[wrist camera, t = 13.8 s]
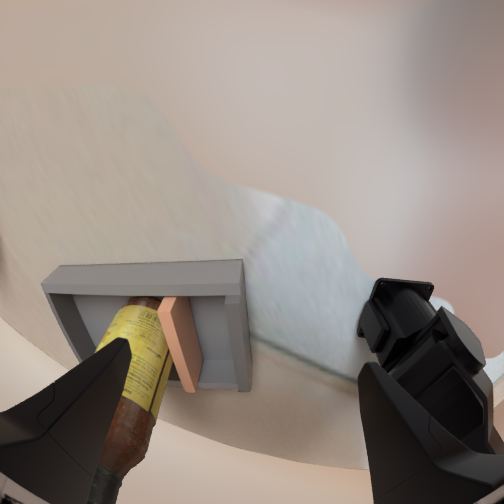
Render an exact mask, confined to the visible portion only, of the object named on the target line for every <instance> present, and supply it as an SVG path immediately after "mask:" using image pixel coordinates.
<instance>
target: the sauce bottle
mask: <svg viewBox="0 0 504 504" xmlns="http://www.w3.org/2000/svg"><path fill="white" fill-rule="evenodd" d="M161 302H162V301H160V300H158V299H156V298H153V297H151V296H136V297H133V298H131V299H129V300H128V301H127V302H126V303H125V304H124V305H123V306H122V308H121V309H120V310H119V311H118V312H117V313H116V315H115V317H114V318H113V320H112V322H111V324H110V326H109V327H108V329H107V331H106V332H105V334H104V336H103V338H102V340H101V342H100V343H99V345H98V347H97V348H96V350H95V352H97V351H98V350H100V349H101V348H103V347H104V346H105V345H107V344H108V343H110V342H111V341H113V340H114V339H115V338H117V337H122V338H126V339H128V340H129V344H130V348H131V352H132V359H131V363H130V367H129V371H128V374H127V378H126V382H125V386H124V390H123V393H122V396H121V399H120V401H119V404H118V407H117V409H116V412H115V415H114V418H113V420H112V423H111V426H110V429H109V432H108V435H107V437H106V440H105V443H104V446H103V449H102V452H101V455H100V459H99V462H98V465H97V468H96V471H95V475H94V477H93V482H92V485H91V488H90V492H89V496H88V499H87V503H86V504H116V500H117V495H118V492H119V488H120V487H121V486H122V479H123V478H124V476H125V475H126V474H127V473H128V472H129V470H130V469H131V468H133V467H135V466H136V465H137V464H138V463H140V462H141V461H142V460H143V459H144V458H145V454H146V452H147V450H148V446H149V441H150V437H151V434H152V429H153V427H154V426H155V424H156V420H157V416H158V413H159V409H160V405H161V401H162V398H163V394H164V390H165V387H166V383H167V380H168V376H169V373H170V369H171V366H172V362H173V359H172V356H171V353H170V350H169V347H168V344H167V341H166V338H165V335H164V332H163V329H162V326H161V323H160V319H159V316H158V313H157V310H158V308H159V306H160V304H161ZM95 352H94V353H95Z"/></svg>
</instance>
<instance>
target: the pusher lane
mask: <svg viewBox="0 0 504 504" xmlns="http://www.w3.org/2000/svg"><path fill="white" fill-rule="evenodd" d="M41 285H42V288H43V290H44V293H45V295H46V297H47V300H48V302H49V304H50V307H51V309H52V311H53V313H54V315H55V317H56V319H57V321H58V324H59V326H60V328H61V330H62V332H63V334H64V335H65V337H66V339H67V341H68V343H69V345H70V347H71V349H72V350H73V352H74V354H75V356H76V357H77V359H78V361H79V363H81V362H83V361H84V360H85V359H87V358H88V357H90V356H91V355H93V354H94V352H95V350H96V348H97V347H98V345H99V343H100V342H101V340H102V338H103V336H104V334H105V332H106V331H107V329H108V327H109V326H110V324H111V322H112V320H113V318H114V317H115V315H116V313H117V312H118V311H119V310H120V309H121V308H122V306H123V305H124V304H125V303H126V302H127V301H128V300H129V299H131V298H133V297H136V296H151V297H153V298H156V299H158V300H160V301H162V300H163V298H164V296H188V299H189V304H190V308H191V313H192V317H193V321H194V325H195V330H196V334H197V338H198V342H199V346H200V350H201V354H202V358H203V362H202V366H201V371H200V375H199V380H198V384H197V388H199V389H224V390H238V392H250V390H251V377H252V356H251V346H250V336H249V325H248V315H247V304H246V293H245V283H244V271H243V260H242V259H237V260H212V261H186V262H158V263H129V264H98V265H64V266H59V267H58V268H57V269H56V270H55V271H53V272H52V273H51V274H50V275H49V276H48V277H47V278H46V279H45V280H44V281H43V282H42V283H41ZM166 386H171V387H183V386H182V383H181V380H180V378H179V375H178V372H177V370H176V367H175V364H174V361H173V362H172V366H171V369H170V373H169V376H168V380H167V383H166Z"/></svg>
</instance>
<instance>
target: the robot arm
mask: <svg viewBox="0 0 504 504" xmlns="http://www.w3.org/2000/svg"><path fill="white" fill-rule="evenodd" d="M381 283H383V284H382V285H380V284H381ZM429 287H430V288H429ZM428 288H429V289H428ZM433 289H434V286H433V285H432V283H430V282H421V281H410V280H400V279H389V278H379V279H378V280H377V281H376V283H375V286H374V289H373V291H372V294H371V297H370V299H369V300H368V301H367V304H366V306H365V309H364V312H363V314H362V317H361V319H360V325H359V327H358V330H357V334H358V336H359V337H361V338H366V340H367V343H368V345H369V348H370V350H371V352H372V353H376V355H377V358H378V361H379V363H380V365H379V364H378V363H376V362H366V363H365V364H364V366H363V368H362V370H361V372H360V373H359V376H358V390H359V403H360V414H361V420H362V425H363V431H364V437H365V443H366V449H367V455H368V462H369V469H370V476H371V484H372V492H373V500H374V504H504V442H503V440H502V439H501V437H500V435H499V434H498V432H497V430H496V429H495V427H494V425H493V384H492V382H491V380H490V379H489V377H488V376H487V374H486V373H485V371H484V370H483V367H484V366H485V365H486V361H485V357H484V354H483V349H482V346H481V342H480V340H479V339H478V338H477V337H476V335H475V334H474V333H473V332H472V331H471V329H470V328H469V327H468V326H467V325H466V324H465V323H464V322H463V321H461V320H460V319H459V318H457V317H456V316H455V315H453V314H452V313H451V312H449V311H448V310H447V309H445V308H444V307H443V306H441V307H440V308H439V310H438V311H436V310H435V309H434V307H433V306H432V304H431V303H430V302H429V299H430V297H431V294H432V292H433ZM437 312H438V313H437ZM361 332H363V333H361ZM131 359H132V352H131V348H130V344H129V340H128V339H126V338H122V337H117V338H115V339H114V340H113V341H111V342H110V343H108V344H107V345H105V346H104V347H103V348H101V349H100V350H98V351H97V352H95V353H94V354H93V355H91V356H90V357H88V358H87V359H85V360H84V361H83V362H81V363H80V364H78V365H77V366H76V367H74V368H73V369H71V370H70V371H68V372H67V373H66V374H65V375H63V376H61V377H60V378H59V379H57V380H56V381H55V382H53V383H51V384H50V385H49V386H47V387H46V388H44V389H43V390H42V391H40V392H38V393H37V394H35V395H33V396H32V397H30V398H28V399H26V400H25V401H23V402H21V403H19V404H17V405H15V406H14V407H12V408H10V409H8V410H6V411H3V412H0V504H86V503H87V499H88V496H89V492H90V488H91V485H92V482H93V477H94V475H95V471H96V468H97V465H98V462H99V459H100V455H101V452H102V449H103V446H104V443H105V440H106V437H107V435H108V432H109V429H110V426H111V423H112V420H113V418H114V415H115V412H116V409H117V407H118V404H119V401H120V399H121V396H122V393H123V390H124V386H125V382H126V378H127V374H128V371H129V367H130V363H131Z"/></svg>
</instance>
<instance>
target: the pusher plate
mask: <svg viewBox="0 0 504 504" xmlns="http://www.w3.org/2000/svg"><path fill="white" fill-rule="evenodd" d="M157 313H158V316H159V319H160V323H161V326H162V329H163V332H164V335H165V338H166V341H167V344H168V347H169V350H170V353H171V356H172V359H173V361H174V364H175V367H176V370H177V372H178V375H179V378H180V380H181V383H182V386H183V388H184V391H185V392H191V393H196V389H197V384H198V380H199V375H200V371H201V366H202V362H203V358H202V354H201V350H200V346H199V342H198V338H197V334H196V330H195V325H194V321H193V317H192V313H191V308H190V304H189V299H188V296H164V298H163V300H162V302H161V304H160V306H159V308H158V310H157Z"/></svg>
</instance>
